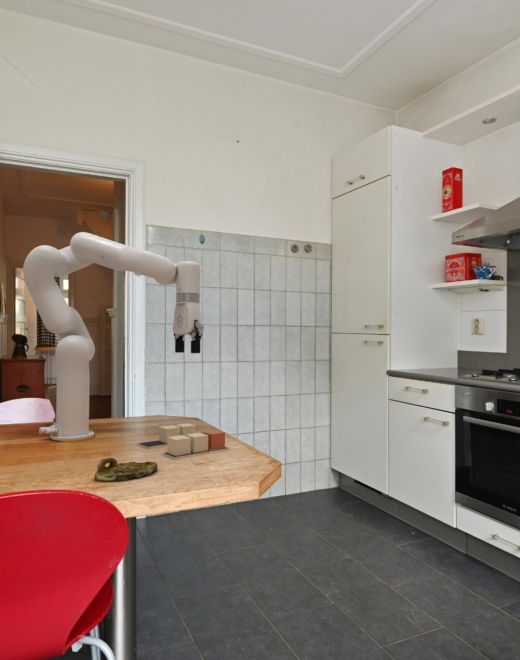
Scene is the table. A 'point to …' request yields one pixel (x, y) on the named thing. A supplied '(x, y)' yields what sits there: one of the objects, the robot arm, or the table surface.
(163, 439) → the left rack
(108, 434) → the table surface
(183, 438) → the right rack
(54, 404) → the stone cup
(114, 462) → the seal
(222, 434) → the rust orange cube
